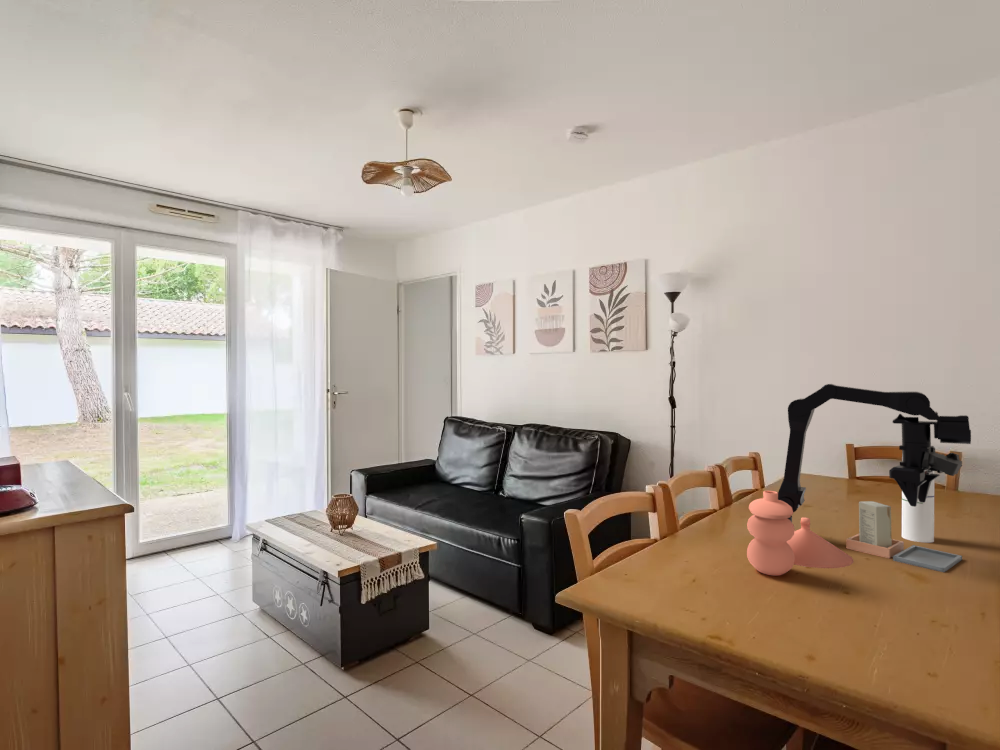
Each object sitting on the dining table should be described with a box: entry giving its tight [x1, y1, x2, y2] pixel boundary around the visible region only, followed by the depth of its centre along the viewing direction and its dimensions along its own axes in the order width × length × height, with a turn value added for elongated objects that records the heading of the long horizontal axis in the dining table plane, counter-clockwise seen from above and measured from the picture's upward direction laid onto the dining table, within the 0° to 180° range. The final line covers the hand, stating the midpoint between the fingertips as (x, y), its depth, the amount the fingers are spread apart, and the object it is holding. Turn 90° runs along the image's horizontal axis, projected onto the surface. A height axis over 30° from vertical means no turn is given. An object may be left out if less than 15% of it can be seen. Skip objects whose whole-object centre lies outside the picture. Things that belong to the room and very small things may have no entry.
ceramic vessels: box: [746, 490, 854, 576], centre depth 133 cm, size 35×21×19 cm, turn 129°
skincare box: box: [858, 500, 892, 548], centre depth 140 cm, size 6×4×12 cm
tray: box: [892, 544, 963, 573], centre depth 132 cm, size 14×10×1 cm
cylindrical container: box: [901, 458, 936, 544], centre depth 149 cm, size 7×7×25 cm
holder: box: [845, 533, 905, 559], centre depth 140 cm, size 10×10×2 cm
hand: (917, 504), depth 134 cm, fingers open, 6 cm apart
